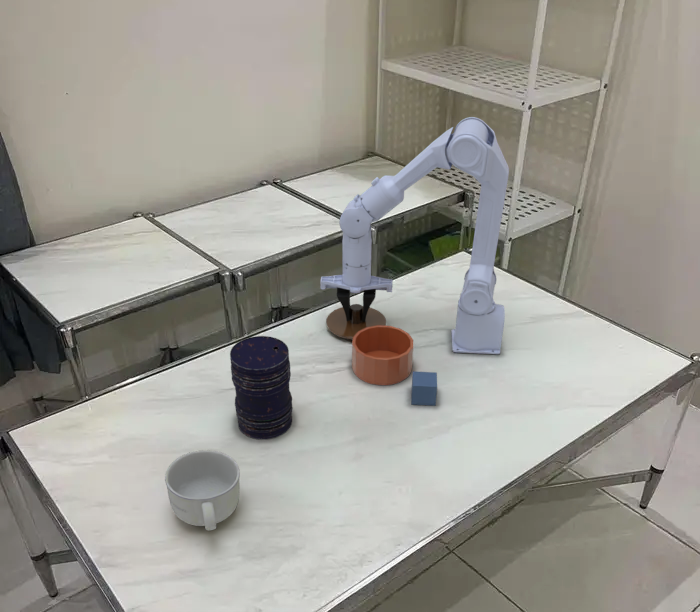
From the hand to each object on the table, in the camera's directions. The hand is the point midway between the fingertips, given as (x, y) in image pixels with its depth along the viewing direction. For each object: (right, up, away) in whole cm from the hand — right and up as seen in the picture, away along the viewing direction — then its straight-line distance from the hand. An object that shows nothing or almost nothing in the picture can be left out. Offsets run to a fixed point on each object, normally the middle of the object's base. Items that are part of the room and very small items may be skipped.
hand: (356, 318), depth 151 cm
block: (+12, -16, -18) cm, 27 cm away
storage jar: (-16, -21, -23) cm, 35 cm away
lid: (0, -1, +1) cm, 1 cm away
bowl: (+5, -10, -10) cm, 15 cm away
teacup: (-23, -34, -41) cm, 58 cm away
